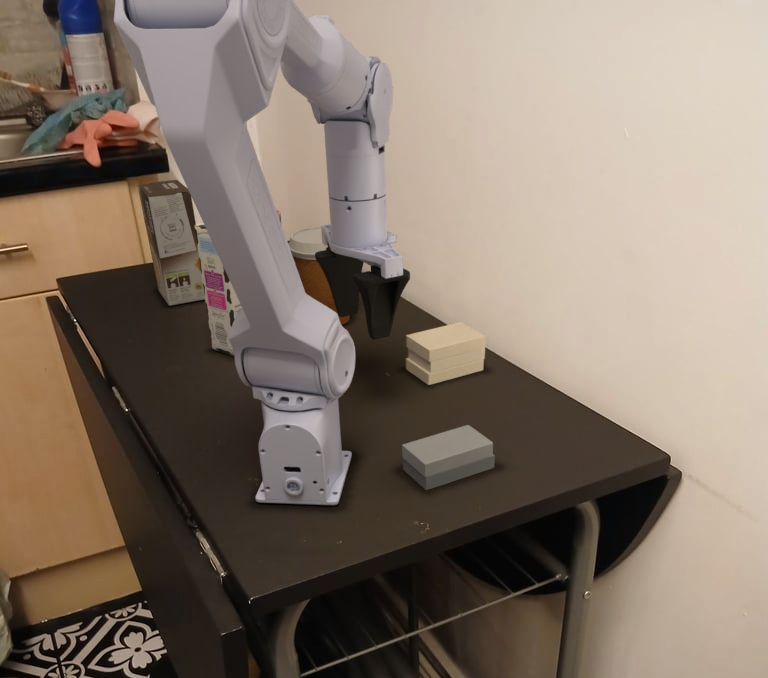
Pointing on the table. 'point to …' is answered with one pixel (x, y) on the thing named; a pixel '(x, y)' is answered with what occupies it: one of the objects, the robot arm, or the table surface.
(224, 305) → the candy bar box
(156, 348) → the table surface
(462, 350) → the cream rectangular block
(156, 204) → the coffee box
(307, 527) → the table surface
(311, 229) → the disposable coffee cup
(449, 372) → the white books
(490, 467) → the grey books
